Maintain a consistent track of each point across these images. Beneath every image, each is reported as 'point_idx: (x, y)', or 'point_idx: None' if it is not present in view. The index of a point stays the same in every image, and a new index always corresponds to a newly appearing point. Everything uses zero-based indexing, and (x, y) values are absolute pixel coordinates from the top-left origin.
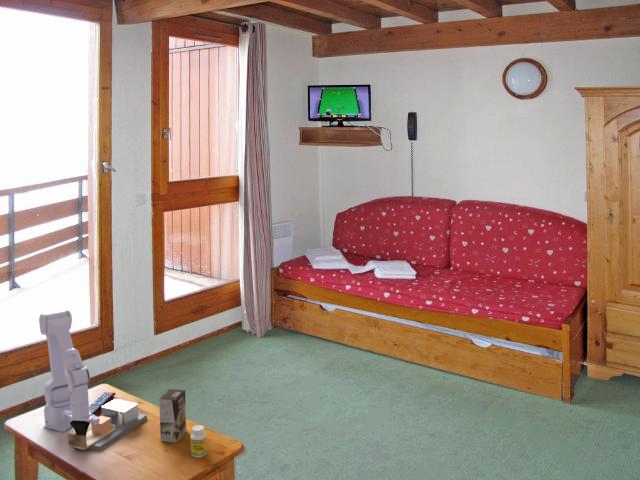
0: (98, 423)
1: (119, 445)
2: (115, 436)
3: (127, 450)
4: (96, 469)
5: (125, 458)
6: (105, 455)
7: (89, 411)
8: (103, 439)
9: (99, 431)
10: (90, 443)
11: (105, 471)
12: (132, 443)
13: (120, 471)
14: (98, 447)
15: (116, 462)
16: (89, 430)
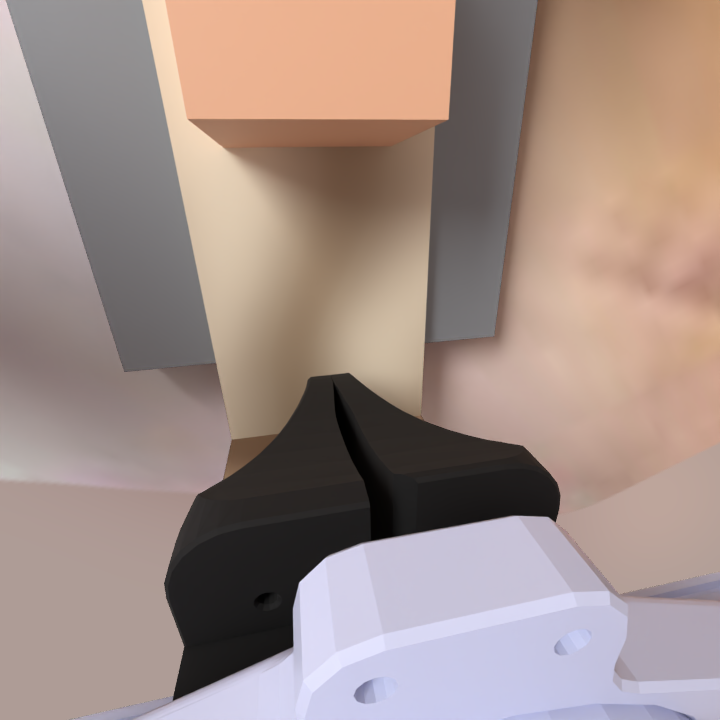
0: (381, 121)
1: (581, 165)
2: (523, 70)
3: (675, 208)
4: (575, 477)
5: (694, 310)
6: (548, 347)
7: (606, 647)
8: (449, 209)
9: (362, 142)
10: (409, 358)
11: (630, 465)
12: (680, 70)
13: (707, 426)
14: (479, 333)
15: (654, 374)
16: (116, 85)
